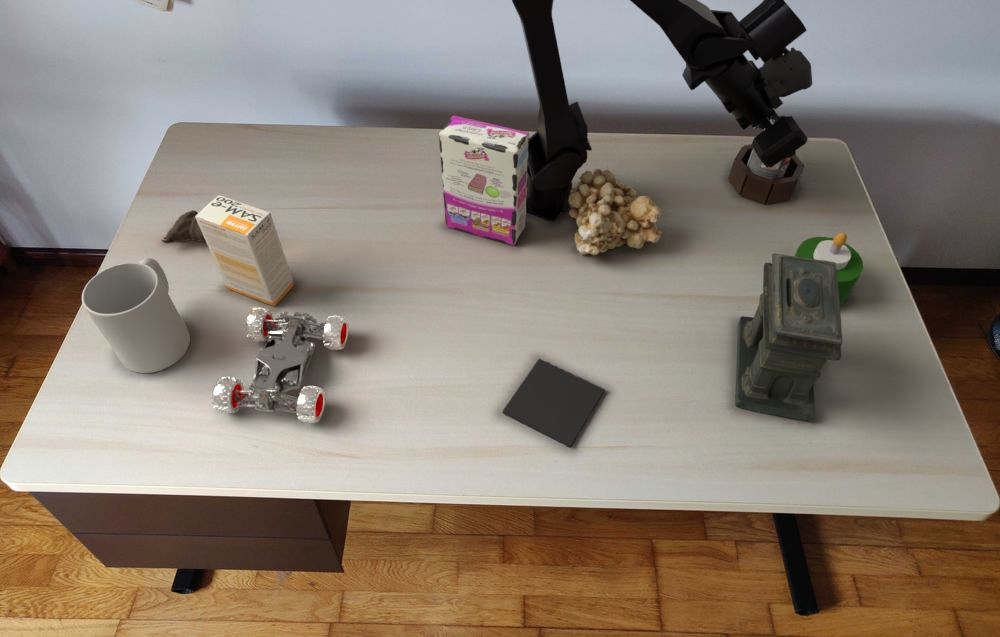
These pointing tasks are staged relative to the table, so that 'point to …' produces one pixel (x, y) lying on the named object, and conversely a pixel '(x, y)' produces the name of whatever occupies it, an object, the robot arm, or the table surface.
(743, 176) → the holder ring
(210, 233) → the supplement box
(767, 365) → the model
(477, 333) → the table surface
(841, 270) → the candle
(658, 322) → the table surface
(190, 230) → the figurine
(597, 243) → the mineral formation
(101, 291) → the mug
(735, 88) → the robot arm
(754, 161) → the pill bottle
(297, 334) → the toy car
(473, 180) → the candy bar box
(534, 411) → the rubber mat
